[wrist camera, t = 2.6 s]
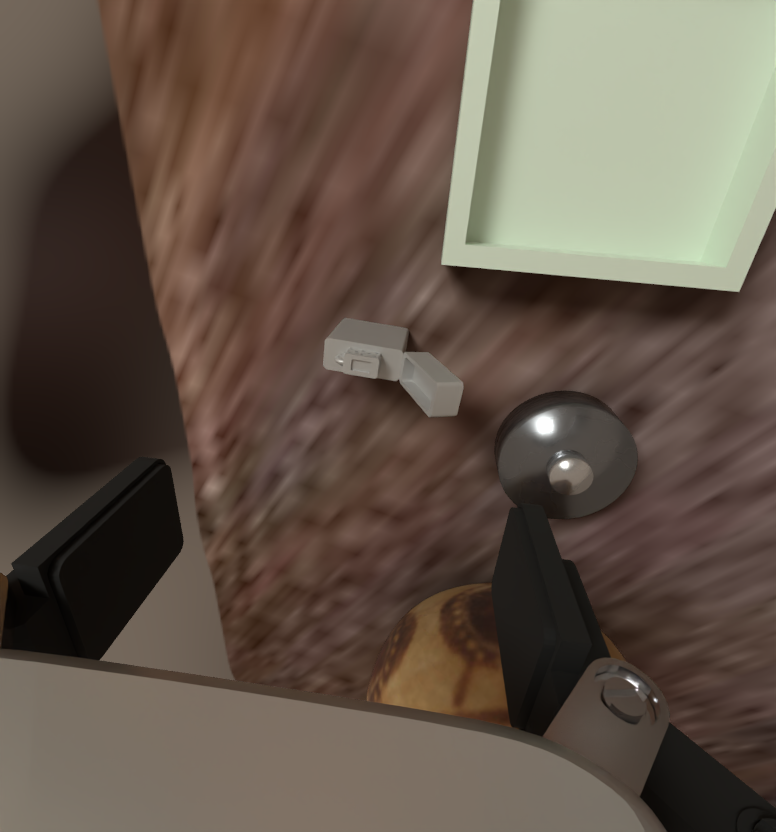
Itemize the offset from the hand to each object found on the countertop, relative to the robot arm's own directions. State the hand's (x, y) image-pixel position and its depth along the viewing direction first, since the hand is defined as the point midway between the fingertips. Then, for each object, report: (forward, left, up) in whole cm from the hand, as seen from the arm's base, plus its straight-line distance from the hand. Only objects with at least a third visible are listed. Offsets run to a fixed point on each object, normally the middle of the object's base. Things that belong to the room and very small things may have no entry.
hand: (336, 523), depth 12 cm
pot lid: (-11, +6, -16) cm, 21 cm away
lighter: (0, 0, -17) cm, 17 cm away
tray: (-9, -12, -16) cm, 22 cm away
